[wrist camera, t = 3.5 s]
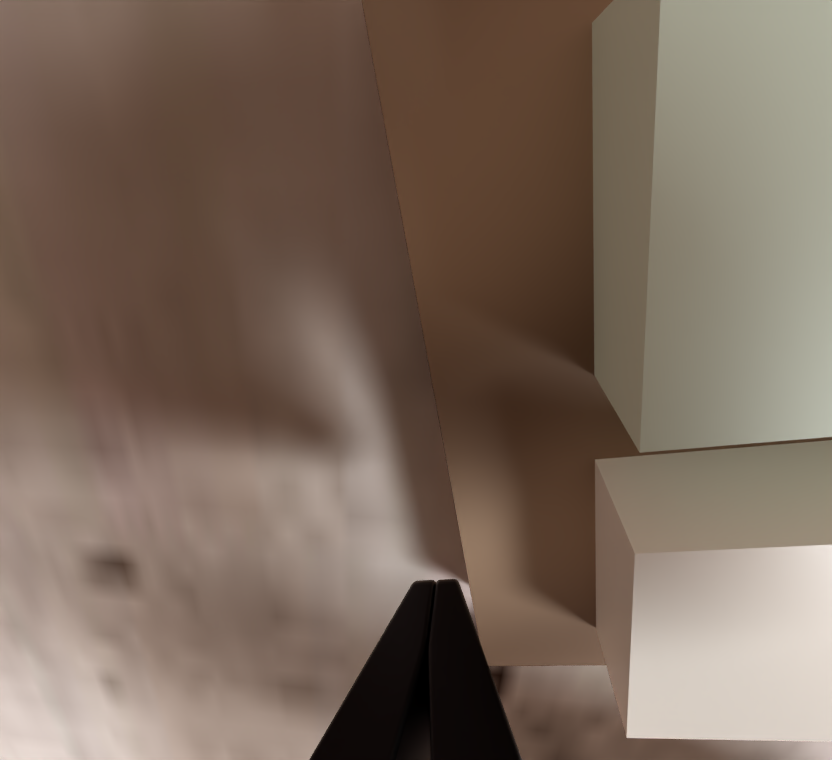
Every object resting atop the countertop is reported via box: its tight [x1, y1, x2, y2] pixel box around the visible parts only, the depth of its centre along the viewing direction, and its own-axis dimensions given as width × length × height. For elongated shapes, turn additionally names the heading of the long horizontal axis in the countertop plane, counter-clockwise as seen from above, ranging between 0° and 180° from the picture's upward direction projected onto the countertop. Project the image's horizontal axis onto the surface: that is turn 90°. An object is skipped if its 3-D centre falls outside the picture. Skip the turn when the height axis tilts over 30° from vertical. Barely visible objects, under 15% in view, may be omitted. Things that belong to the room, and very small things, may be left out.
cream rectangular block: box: [595, 440, 832, 742], centre depth 7 cm, size 4×6×2 cm
